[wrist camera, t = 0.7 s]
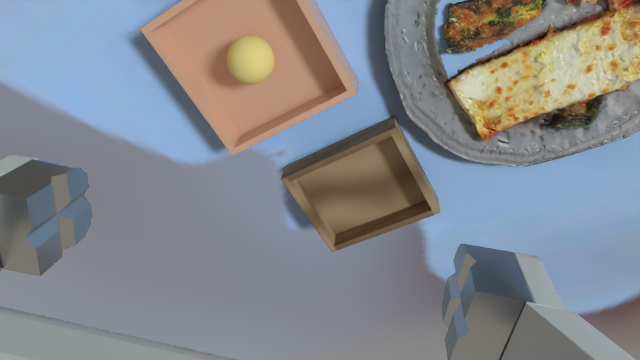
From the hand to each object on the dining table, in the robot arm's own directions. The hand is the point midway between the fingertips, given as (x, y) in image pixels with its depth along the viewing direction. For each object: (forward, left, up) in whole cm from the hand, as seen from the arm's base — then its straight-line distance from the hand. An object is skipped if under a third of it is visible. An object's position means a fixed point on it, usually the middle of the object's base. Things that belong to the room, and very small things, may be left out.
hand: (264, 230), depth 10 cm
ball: (0, -10, -29) cm, 31 cm away
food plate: (+9, +12, -32) cm, 36 cm away
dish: (0, -10, -32) cm, 33 cm away
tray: (+16, -8, -32) cm, 37 cm away
